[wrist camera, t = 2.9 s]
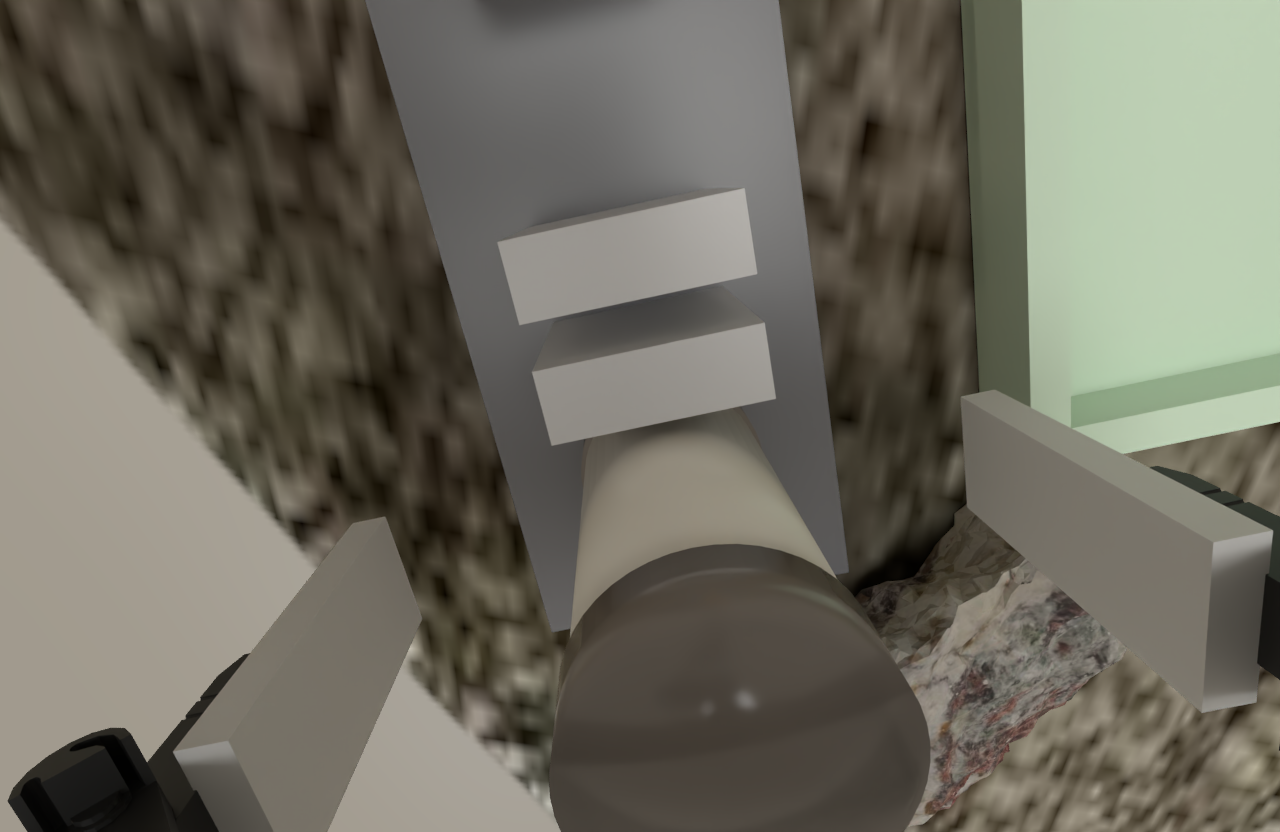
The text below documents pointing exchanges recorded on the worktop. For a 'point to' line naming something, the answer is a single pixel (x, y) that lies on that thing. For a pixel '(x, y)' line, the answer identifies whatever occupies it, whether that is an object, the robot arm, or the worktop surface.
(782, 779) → the cylinder
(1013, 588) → the mineral rock
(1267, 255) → the tray
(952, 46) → the worktop surface
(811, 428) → the panel
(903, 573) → the worktop surface
